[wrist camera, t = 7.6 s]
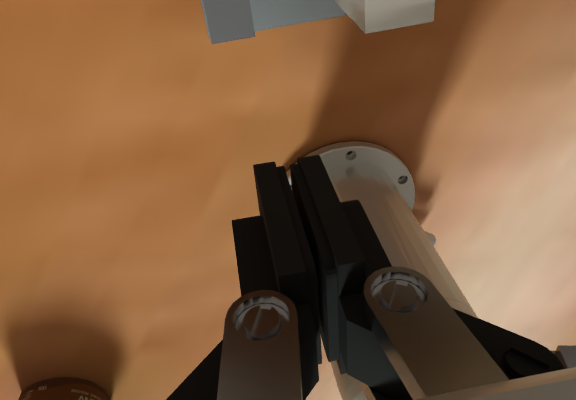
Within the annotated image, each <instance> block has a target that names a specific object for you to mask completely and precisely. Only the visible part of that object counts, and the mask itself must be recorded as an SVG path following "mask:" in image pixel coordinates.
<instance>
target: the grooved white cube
mask: <svg viewBox="0 0 576 400" xmlns="http://www.w3.org/2000/svg"><path fill="white" fill-rule="evenodd" d="M335 2H336V3H337V4H338V6H339V7H340V8H341V9H342V10H343V11H344V12H345V13H346V14H347V15H348V16H349V17H350V18H351V19H352V20H353V21H354V22H355V23H356V24H357V26H358V27H359V28H360V29H361V30H362V31H363V32H364V33H365V34H367V33H373V32H379V31H384V30H390V29H395V28H401V27H406V26H412V25H418V24H423V23H429V22H434V10H435V0H335Z"/></svg>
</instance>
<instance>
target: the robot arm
mask: <svg viewBox="0 0 576 400" xmlns="http://www.w3.org/2000/svg"><path fill="white" fill-rule="evenodd" d="M253 167H254V175H255V182H256V189H257V197H258V204H259V211H260V216H255V217H249V218H243V219H237V220H232V227H233V234H234V242H235V250H236V258H237V265H238V273H239V281H240V289H241V297H240V298H239V299H237V300H236V301H235V302H233V304H232V305H231V307H230V308H229V309H228V311H227V314H226V318H225V324H224V334H223V340H222V341H221V342H220V343H219V344H218V345H217V346H216V347H215V348H214V349H213V350H212V352H211V353H210V354H209V355H208V356H207V357H206V358H205V359H204V360H203V361H202V362H201V363H200V364H199V365H198V366H197V367H196V368H195V370H194V371H193V372H192V373H191V374H190V375H189V376H188V377H187V378H186V379H185V380H184V381H183V382H182V383H181V384H180V385H179V387H178V388H177V389H176V390H175V391H174V392H173V393H172V394H171V395H170V396H169V397H168V398H167V399H166V400H306V397H307V396H308V395H309V393H310V392H311V390H312V389H313V388H314V386H315V385H316V383H317V382H318V381H319V374H318V364H322V354H321V338H322V341H323V345H324V349H325V352H326V356H327V359H328V361H329V362H331V365H332V368H333V372H334V376H335V379H336V383H337V386H338V389H339V392H340V394H341V397H342V399H343V400H576V346H558V347H557V349H556V351H550V350H548V349H547V348H546V347H544V346H542V345H540V344H538V343H537V342H535V341H532V340H530V339H527V338H525V337H522V336H520V335H518V334H515V333H513V332H510V331H508V330H505V329H503V328H500V327H498V326H496V325H493V324H491V323H488V322H486V321H483V320H481V319H478V317H477V316H476V314H475V312H474V311H473V309H472V307H471V306H470V304H469V303H468V301H467V299H466V298H465V296H464V295H463V293H462V291H461V290H460V288H459V287H458V285H457V283H456V282H455V280H454V279H453V277H452V275H451V274H450V272H449V271H448V269H447V267H446V266H445V264H444V262H443V261H442V259H441V258H440V256H439V254H438V253H437V251H436V250H435V248H434V244H435V241H436V238H435V236H434V235H433V234H431V233H428V232H426V231H424V230H423V229H422V227H421V225H420V224H419V222H418V221H417V219H416V217H415V216H414V214H413V213H412V210H413V206H414V201H415V186H414V182H413V179H412V176H411V174H410V173H409V171H408V169H407V167H406V166H405V165H404V163H403V162H402V161H401V159H400V158H399V157H398V156H396V155H395V154H394V153H393V152H391V151H390V150H388V149H386V148H384V147H382V146H380V145H377V144H373V143H369V142H360V141H349V142H340V143H335V144H332V145H328V146H324V147H322V148H320V149H318V150H315V151H313V152H311V153H309V154H308V155H306V156H305V157H300V158H297V162H296V163H295V164H292V165H290V169H289V170H288V171H287V172H286V171H285V168H284V166H280V167H276V164H275V162H268V163H262V164H256V165H253ZM320 334H321V337H320Z"/></svg>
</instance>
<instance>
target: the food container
mask: <svg viewBox="0 0 576 400" xmlns="http://www.w3.org/2000/svg"><path fill="white" fill-rule="evenodd" d="M19 400H110V396H109V395H108V393H107V392H106V391H105V389H103V388H102V387H100V386H99V385H97V384H95V383H93V382H91V381H87V380H83V379H78V378H54V379H48V380H44V381H41V382H38V383H36V384H33V385H31V386H29V387H28V388H26V389H25V390H24V391H22V392H21V395H20V397H19Z"/></svg>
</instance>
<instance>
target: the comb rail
mask: <svg viewBox="0 0 576 400" xmlns="http://www.w3.org/2000/svg"><path fill="white" fill-rule="evenodd" d="M201 2H202V7H203V12H204V16H205V21H206V26H207V30H208V35H209V39H211V42H212V44H216V43H222V42H227V41H233V40H239V39H244V38H250V37H255V32H254V31H260V30H266V29H271V28H277V27H283V26H288V25H294V24H300V23H305V22H311V21H317V20H322V19H328V18H334V17H339V16H345V15H347V14H346V13H345V12H344V11H343V10H342V9H341V8H340V7H339V6H338V4H337V3H336V2H335V0H201Z"/></svg>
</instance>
